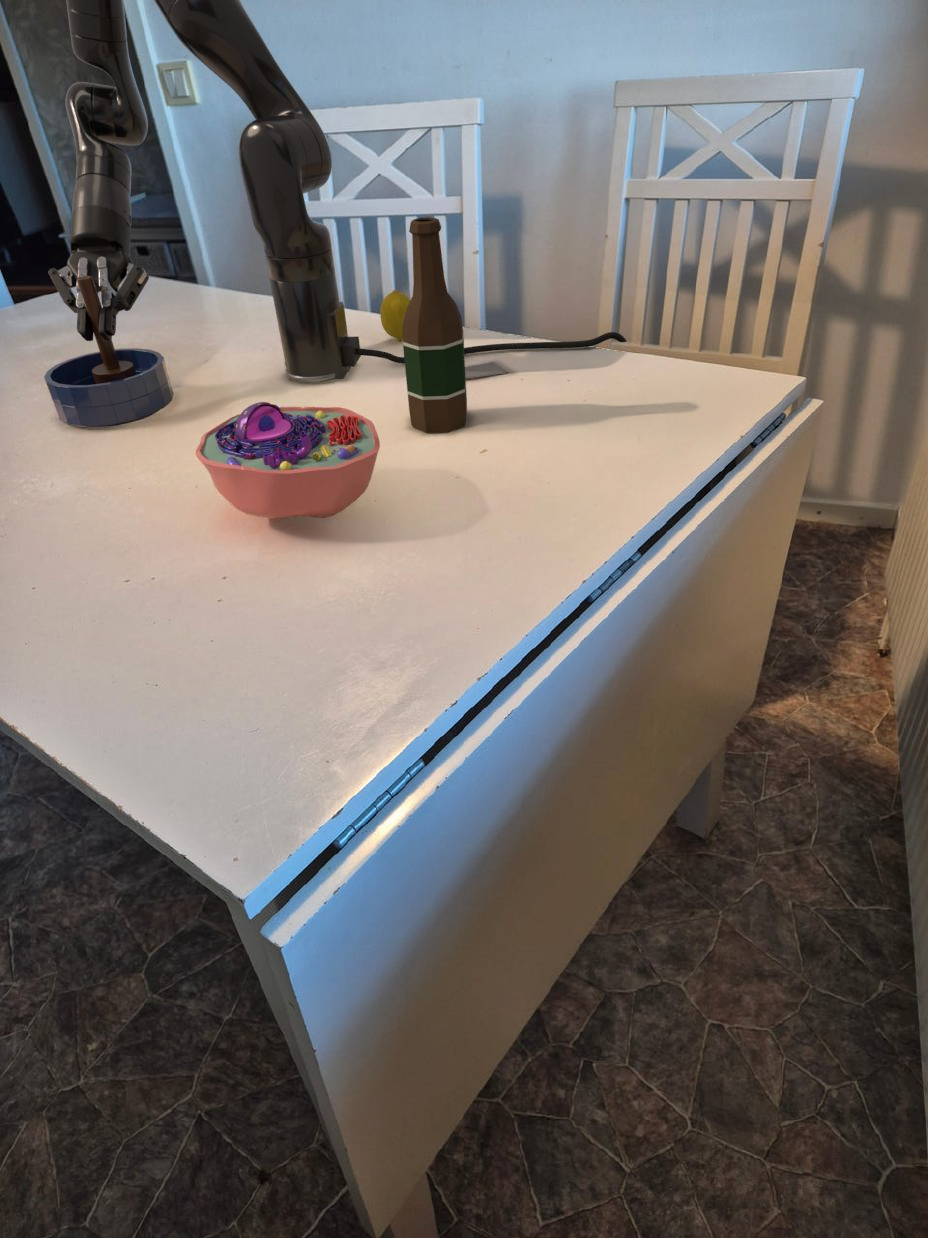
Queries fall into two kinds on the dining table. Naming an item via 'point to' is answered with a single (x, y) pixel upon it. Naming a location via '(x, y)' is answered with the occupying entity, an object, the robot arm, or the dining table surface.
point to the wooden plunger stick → (111, 365)
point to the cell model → (291, 459)
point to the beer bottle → (433, 339)
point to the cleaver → (484, 370)
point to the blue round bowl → (109, 389)
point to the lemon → (394, 313)
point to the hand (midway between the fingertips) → (96, 337)
